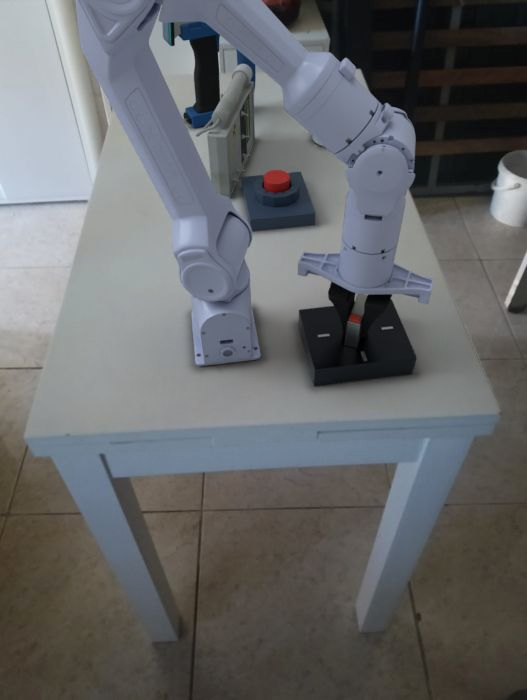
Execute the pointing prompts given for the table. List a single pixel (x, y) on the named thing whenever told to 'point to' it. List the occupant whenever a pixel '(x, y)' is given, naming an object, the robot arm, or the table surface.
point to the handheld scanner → (202, 67)
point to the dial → (355, 322)
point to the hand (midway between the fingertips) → (356, 329)
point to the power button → (276, 181)
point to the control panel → (354, 363)
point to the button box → (277, 204)
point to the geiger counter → (231, 132)
